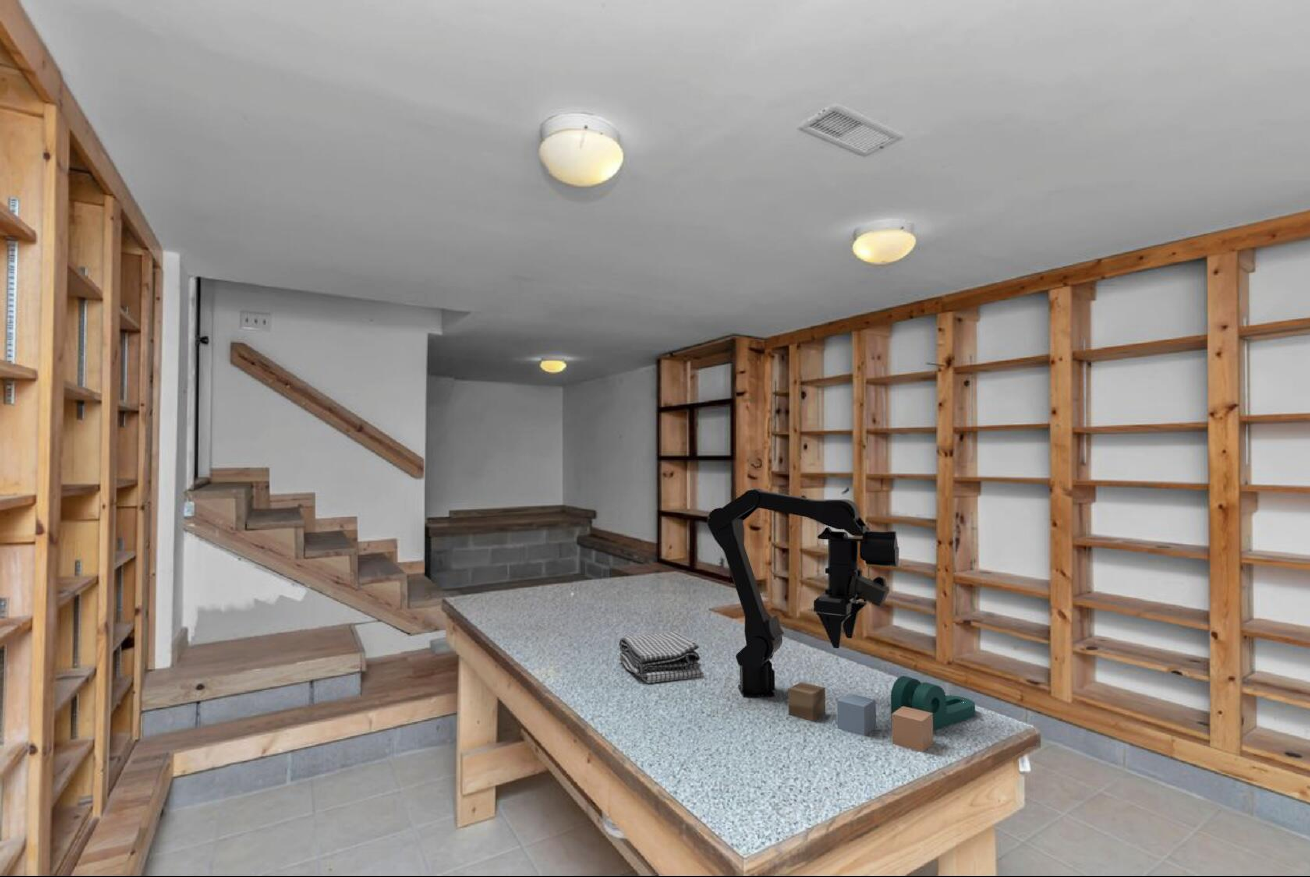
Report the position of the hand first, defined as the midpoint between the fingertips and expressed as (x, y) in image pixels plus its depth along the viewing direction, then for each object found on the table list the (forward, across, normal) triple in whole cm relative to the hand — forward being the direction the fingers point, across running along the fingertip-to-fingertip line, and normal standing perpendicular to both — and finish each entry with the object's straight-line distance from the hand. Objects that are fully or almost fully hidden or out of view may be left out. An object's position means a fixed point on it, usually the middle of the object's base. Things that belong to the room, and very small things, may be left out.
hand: (842, 642), depth 126 cm
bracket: (+12, +3, -17) cm, 21 cm away
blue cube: (+12, -10, -5) cm, 16 cm away
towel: (+14, +2, +43) cm, 45 cm away
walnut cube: (+12, -8, +5) cm, 15 cm away
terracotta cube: (+12, -11, -15) cm, 22 cm away
